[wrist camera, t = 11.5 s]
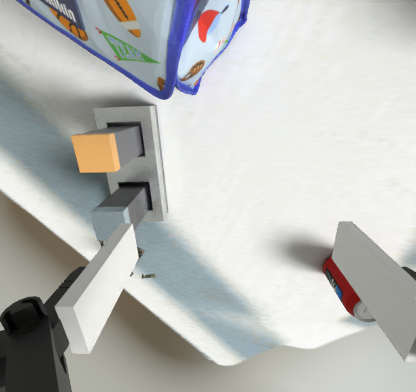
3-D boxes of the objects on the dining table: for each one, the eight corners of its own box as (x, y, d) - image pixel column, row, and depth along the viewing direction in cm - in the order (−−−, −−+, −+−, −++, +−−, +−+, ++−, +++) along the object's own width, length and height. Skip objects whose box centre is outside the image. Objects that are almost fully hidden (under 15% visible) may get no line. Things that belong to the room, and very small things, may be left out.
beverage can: (314, 269, 51) (341, 316, 39) (334, 246, 48) (368, 290, 37) (340, 280, 51) (373, 330, 40) (360, 258, 49) (402, 304, 38)
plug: (143, 123, 39) (108, 134, 27) (147, 150, 41) (115, 172, 29) (118, 124, 40) (70, 135, 27) (122, 150, 41) (80, 172, 29)
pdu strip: (156, 105, 39) (122, 108, 26) (169, 226, 48) (150, 275, 35) (104, 107, 40) (45, 111, 26) (127, 226, 49) (92, 275, 35)
